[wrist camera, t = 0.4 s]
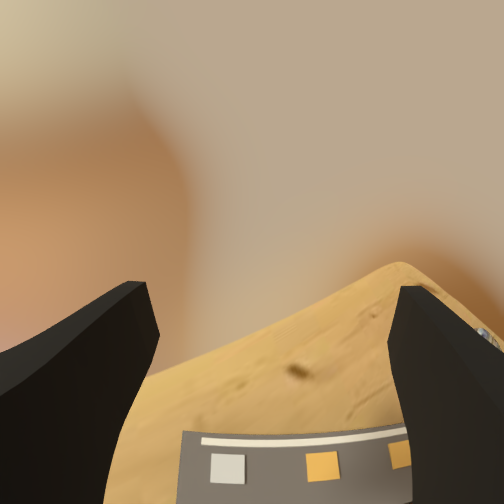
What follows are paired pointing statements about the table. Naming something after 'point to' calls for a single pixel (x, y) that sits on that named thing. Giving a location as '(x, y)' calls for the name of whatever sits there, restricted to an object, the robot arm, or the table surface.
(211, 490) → the switch console
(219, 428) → the table surface
